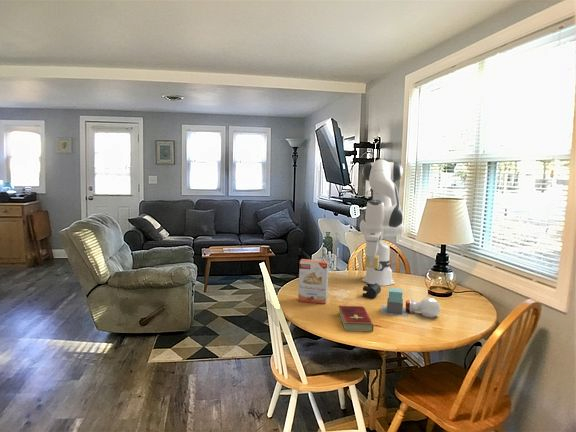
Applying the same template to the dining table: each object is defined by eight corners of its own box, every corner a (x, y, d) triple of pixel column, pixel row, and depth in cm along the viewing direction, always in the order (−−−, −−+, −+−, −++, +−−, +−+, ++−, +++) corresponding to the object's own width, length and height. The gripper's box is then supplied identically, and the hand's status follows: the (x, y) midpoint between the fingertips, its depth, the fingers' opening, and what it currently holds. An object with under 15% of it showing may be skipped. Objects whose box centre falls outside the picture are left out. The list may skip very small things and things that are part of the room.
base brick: (387, 307, 197) (387, 297, 197) (402, 309, 195) (402, 299, 195) (386, 312, 190) (387, 302, 190) (402, 314, 189) (402, 303, 188)
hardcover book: (364, 314, 191) (364, 305, 191) (373, 332, 170) (373, 322, 170) (338, 313, 191) (338, 305, 191) (344, 331, 170) (344, 322, 170)
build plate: (382, 307, 200) (382, 305, 200) (407, 310, 197) (407, 308, 197) (380, 315, 189) (380, 313, 189) (407, 318, 186) (408, 316, 186)
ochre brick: (366, 264, 199) (366, 254, 199) (378, 265, 198) (379, 255, 197) (364, 267, 194) (365, 256, 193) (377, 268, 192) (378, 258, 191)
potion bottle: (440, 323, 185) (407, 320, 193) (443, 306, 191) (411, 304, 199) (437, 310, 180) (403, 308, 188) (440, 293, 186) (407, 291, 194)
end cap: (375, 301, 209) (376, 288, 208) (362, 299, 213) (362, 286, 212) (380, 296, 218) (381, 283, 217) (367, 293, 221) (368, 281, 221)
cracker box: (297, 301, 205) (299, 261, 202) (300, 298, 211) (301, 258, 208) (325, 304, 202) (327, 263, 199) (327, 300, 208) (328, 260, 205)
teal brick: (388, 297, 196) (389, 287, 195) (401, 299, 194) (402, 289, 194) (388, 301, 190) (389, 291, 190) (401, 303, 189) (402, 292, 188)
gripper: (369, 230, 205) (367, 258, 206) (364, 237, 185) (363, 267, 187) (381, 231, 203) (380, 259, 204) (378, 238, 183) (377, 268, 185)
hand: (372, 263), depth 195 cm, fingers closed on ochre brick, 6 cm apart
